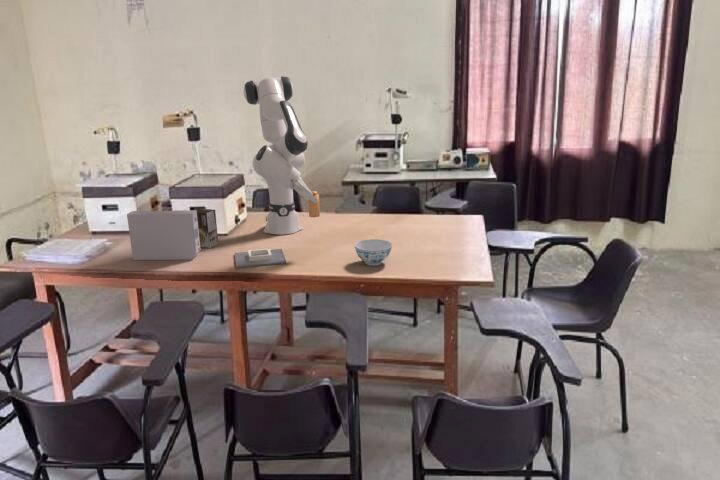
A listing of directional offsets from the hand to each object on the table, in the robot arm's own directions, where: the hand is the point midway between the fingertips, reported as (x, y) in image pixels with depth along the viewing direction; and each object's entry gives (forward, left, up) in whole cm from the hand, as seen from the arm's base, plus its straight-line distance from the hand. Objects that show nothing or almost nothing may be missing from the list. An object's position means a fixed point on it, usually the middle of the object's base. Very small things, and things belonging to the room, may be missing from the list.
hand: (315, 200), depth 243 cm
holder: (0, -24, -23) cm, 34 cm away
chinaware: (+18, +20, -24) cm, 36 cm away
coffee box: (-27, -46, -24) cm, 58 cm away
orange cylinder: (0, -1, -7) cm, 7 cm away
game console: (-13, -62, -24) cm, 68 cm away
